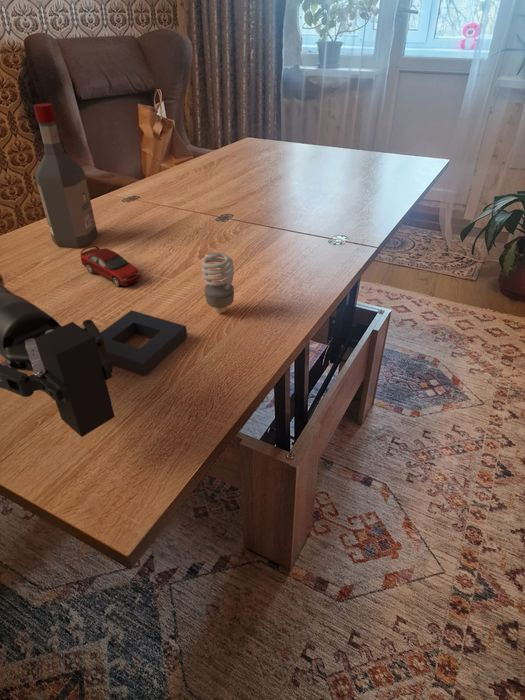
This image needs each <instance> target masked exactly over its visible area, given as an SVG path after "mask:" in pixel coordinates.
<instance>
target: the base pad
mask: <svg viewBox="0 0 525 700" xmlns="http://www.w3.org/2000/svg"><path fill="white" fill-rule="evenodd" d="M100 333H101V334H102V336H103V337H104V340H105V346H106V350H107V353H108V356H107V357H106V358H107V359H109V360H110V362H111V366H114V367H117V368H119V369H123V370H126V371H128V372H131V373H134V374H137V375H140V376H143V377H146V376H147V375H148V374H149V373H151V372H152V371H153V370H154V369H155V368H156V367H157V366H158V365H159V364H161V363H162V362H163V361H164V360H165V359H166V358H168V356H169V355H170V354H172V353H173V352H174V351H175V350H176V349H178V347H179V346H180V345H181V344H182V343H184V342H185V341H186V340H187V339H188V331H187V325H184V324H180V323H177V322H173V321H170V320H167V319H164V318H159V317H157V316H152V315H150V314H146V313H142V312H139V311H136V310H132V309H131V310H130V311H128V312H127V313H125V314H124V315H122V316H121V317H120V318H118V319H117V320H116V321H114V322H113V323H112V324H110V325H109V326H107V327H106V328H105V329H104V330H101V331H100ZM136 335H138V336H142V337H145V338H147V339H149V340H148V341H147V342H146V343H144V344H143V345H142V346H141V347H140V348H138V347H136V346H133V345H129V344H127V342H128V341H129V340H131V339H132V338H133V337H135V336H136Z"/></svg>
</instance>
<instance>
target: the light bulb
mask: <svg viewBox="0 0 525 700" xmlns="http://www.w3.org/2000/svg"><path fill="white" fill-rule="evenodd" d="M201 266H202V267H201V272H202V278H203V279H204V280H203V282H204V284H205V287H204V297H205V302H206V304H207V305H208V306H210V307H211V308H213V310H214V312H216V313H218V314H222V313H225V312H226V311H227V310H228V307H229V306H231V305H232V304H233V302H234V299H235V298H234V297H235V288H234V285H233V281H234V276H235V274H234V270H235V267H234V260H233V259H232V257H231V256H230V255H228V254H226V253H224V252H219V251H211V252H210V251H209V252H207V253H206V254H205V255H204V259H203V260H202V261H201Z"/></svg>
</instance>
